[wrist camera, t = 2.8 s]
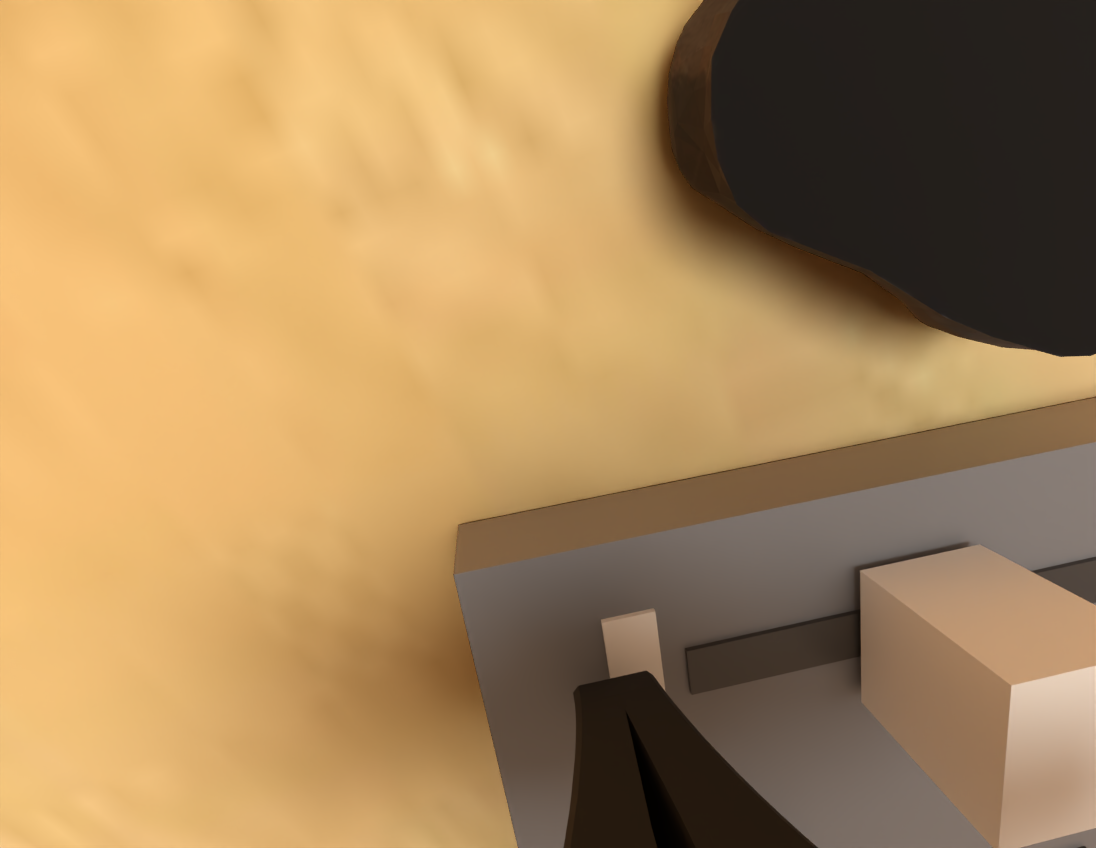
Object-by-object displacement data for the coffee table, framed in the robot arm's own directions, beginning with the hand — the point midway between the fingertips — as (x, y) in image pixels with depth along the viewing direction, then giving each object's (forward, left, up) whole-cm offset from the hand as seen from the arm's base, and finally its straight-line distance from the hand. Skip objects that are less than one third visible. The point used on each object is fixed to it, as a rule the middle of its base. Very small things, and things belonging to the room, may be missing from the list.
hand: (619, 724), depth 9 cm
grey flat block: (-4, -6, -3) cm, 8 cm away
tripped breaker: (0, -6, -1) cm, 6 cm away
